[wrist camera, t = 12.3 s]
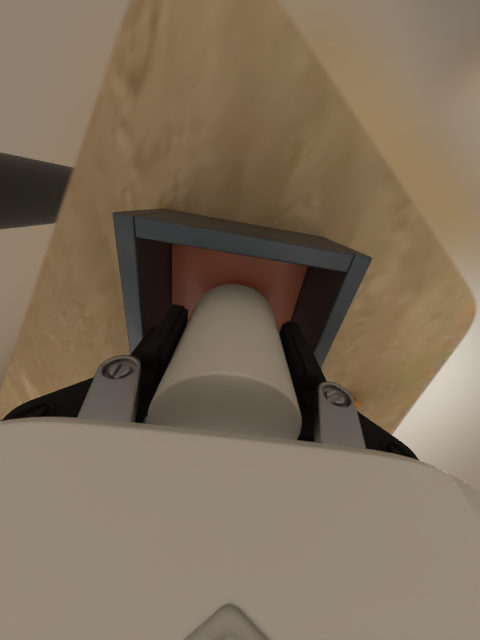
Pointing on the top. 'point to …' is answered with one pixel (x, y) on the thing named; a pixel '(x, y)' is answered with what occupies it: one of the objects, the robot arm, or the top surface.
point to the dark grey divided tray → (233, 271)
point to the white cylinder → (229, 370)
